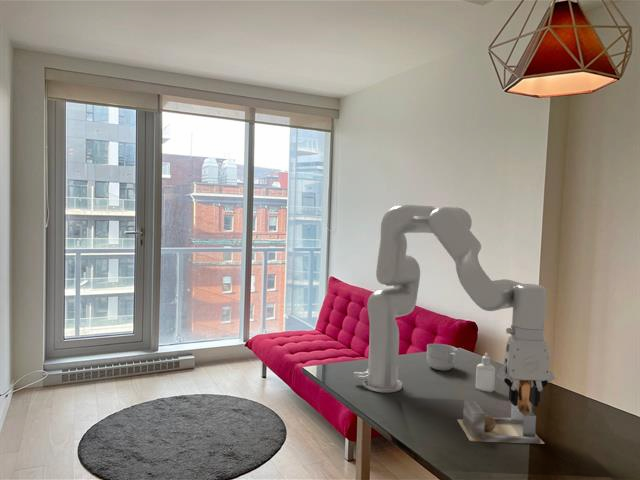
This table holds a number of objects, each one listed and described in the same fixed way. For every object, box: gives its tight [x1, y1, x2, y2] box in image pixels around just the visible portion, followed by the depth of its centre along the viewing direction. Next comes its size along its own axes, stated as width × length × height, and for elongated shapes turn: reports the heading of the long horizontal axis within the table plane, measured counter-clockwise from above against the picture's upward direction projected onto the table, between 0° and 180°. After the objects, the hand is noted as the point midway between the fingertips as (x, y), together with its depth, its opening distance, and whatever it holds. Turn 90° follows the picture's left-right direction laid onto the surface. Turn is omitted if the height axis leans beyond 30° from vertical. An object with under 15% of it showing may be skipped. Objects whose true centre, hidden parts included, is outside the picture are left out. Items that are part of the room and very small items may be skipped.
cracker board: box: [456, 400, 545, 445], centre depth 122 cm, size 18×12×8 cm, turn 89°
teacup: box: [426, 343, 459, 371], centre depth 174 cm, size 14×11×8 cm
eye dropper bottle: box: [475, 352, 496, 393], centre depth 155 cm, size 4×6×12 cm
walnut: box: [484, 413, 496, 431], centre depth 123 cm, size 4×4×4 cm
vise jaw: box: [510, 380, 537, 437], centre depth 122 cm, size 3×8×14 cm, turn 179°
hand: (523, 403), depth 122 cm, fingers open, 4 cm apart
